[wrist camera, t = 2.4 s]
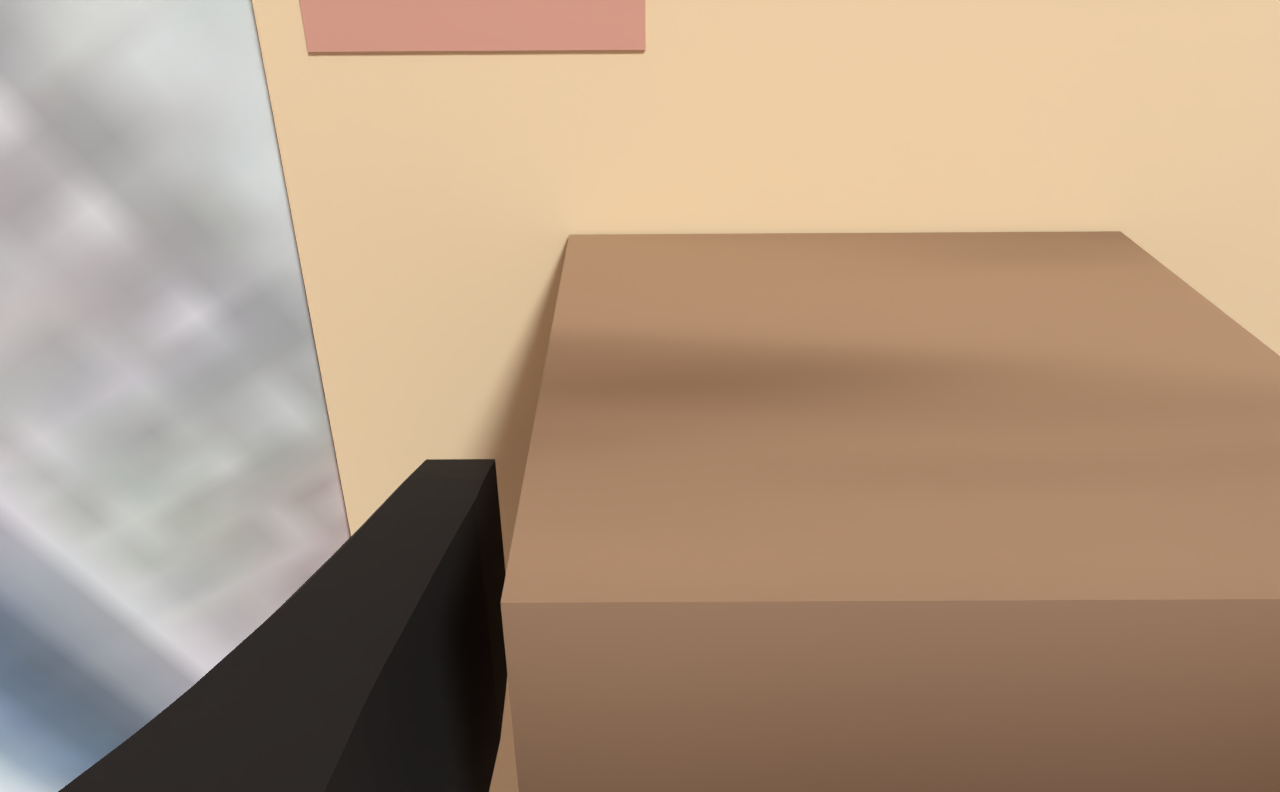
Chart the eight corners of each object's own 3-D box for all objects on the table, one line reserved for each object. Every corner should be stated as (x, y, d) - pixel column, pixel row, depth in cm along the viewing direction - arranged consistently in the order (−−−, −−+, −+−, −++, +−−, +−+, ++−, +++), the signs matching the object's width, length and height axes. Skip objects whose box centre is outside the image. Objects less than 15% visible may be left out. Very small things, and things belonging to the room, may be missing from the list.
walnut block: (1019, 646, 11) (1261, 1146, 7) (587, 647, 11) (553, 1148, 7) (1120, 231, 9) (1590, 598, 4) (568, 235, 9) (500, 602, 4)
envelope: (1136, 877, 14) (1143, 891, 13) (419, 880, 14) (415, 893, 13) (1614, -396, 7) (1638, -400, 7) (189, -384, 7) (177, -390, 7)
